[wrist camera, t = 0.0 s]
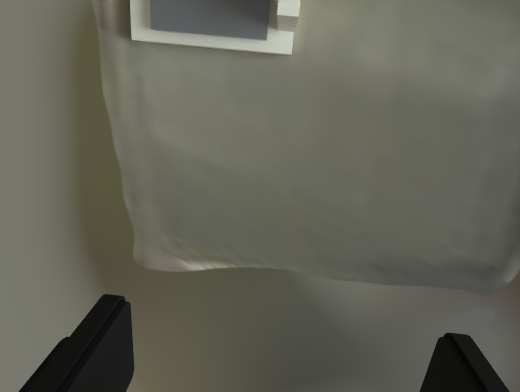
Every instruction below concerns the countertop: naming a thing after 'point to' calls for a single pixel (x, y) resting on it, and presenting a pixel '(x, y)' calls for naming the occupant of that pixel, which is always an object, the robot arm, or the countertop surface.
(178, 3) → the platform
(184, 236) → the countertop surface
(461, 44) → the countertop surface
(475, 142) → the countertop surface
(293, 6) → the kitchen scale
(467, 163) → the countertop surface
